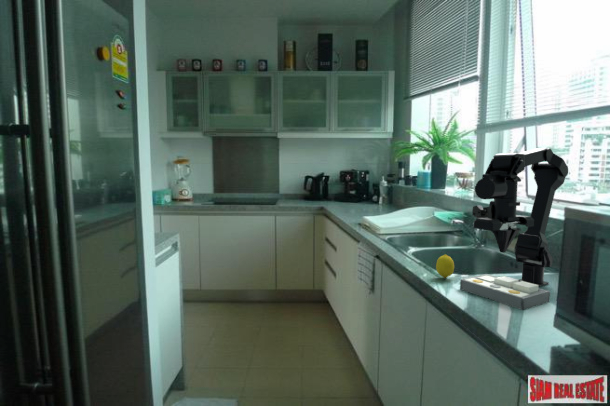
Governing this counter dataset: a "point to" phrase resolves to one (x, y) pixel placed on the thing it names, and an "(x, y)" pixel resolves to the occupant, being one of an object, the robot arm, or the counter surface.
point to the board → (504, 293)
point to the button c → (525, 287)
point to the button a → (486, 278)
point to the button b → (505, 281)
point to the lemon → (445, 266)
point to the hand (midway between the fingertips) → (502, 252)
